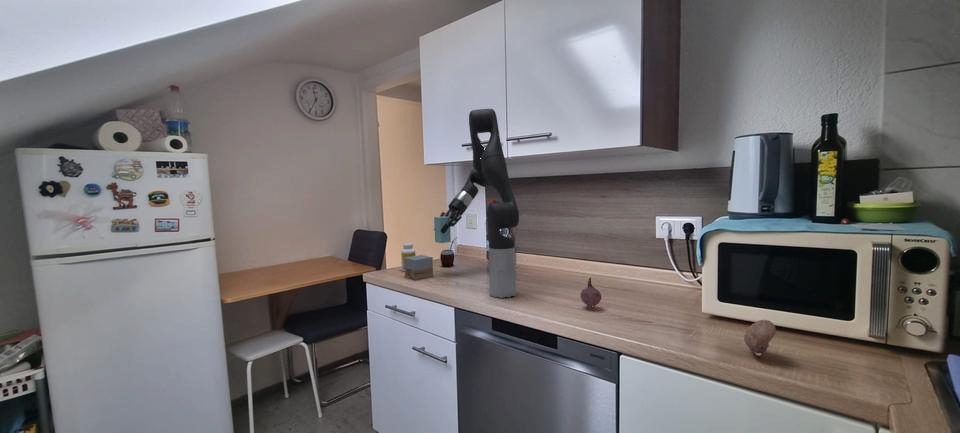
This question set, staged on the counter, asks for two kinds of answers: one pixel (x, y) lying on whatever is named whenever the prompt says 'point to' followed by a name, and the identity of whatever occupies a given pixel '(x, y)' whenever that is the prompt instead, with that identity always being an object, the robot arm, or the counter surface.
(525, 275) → the counter surface
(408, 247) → the supplement bottle
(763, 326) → the mushroom
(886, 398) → the counter surface
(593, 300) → the vegetable
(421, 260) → the top slab
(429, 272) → the bottom slab
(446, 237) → the teal block
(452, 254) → the mate gourd
